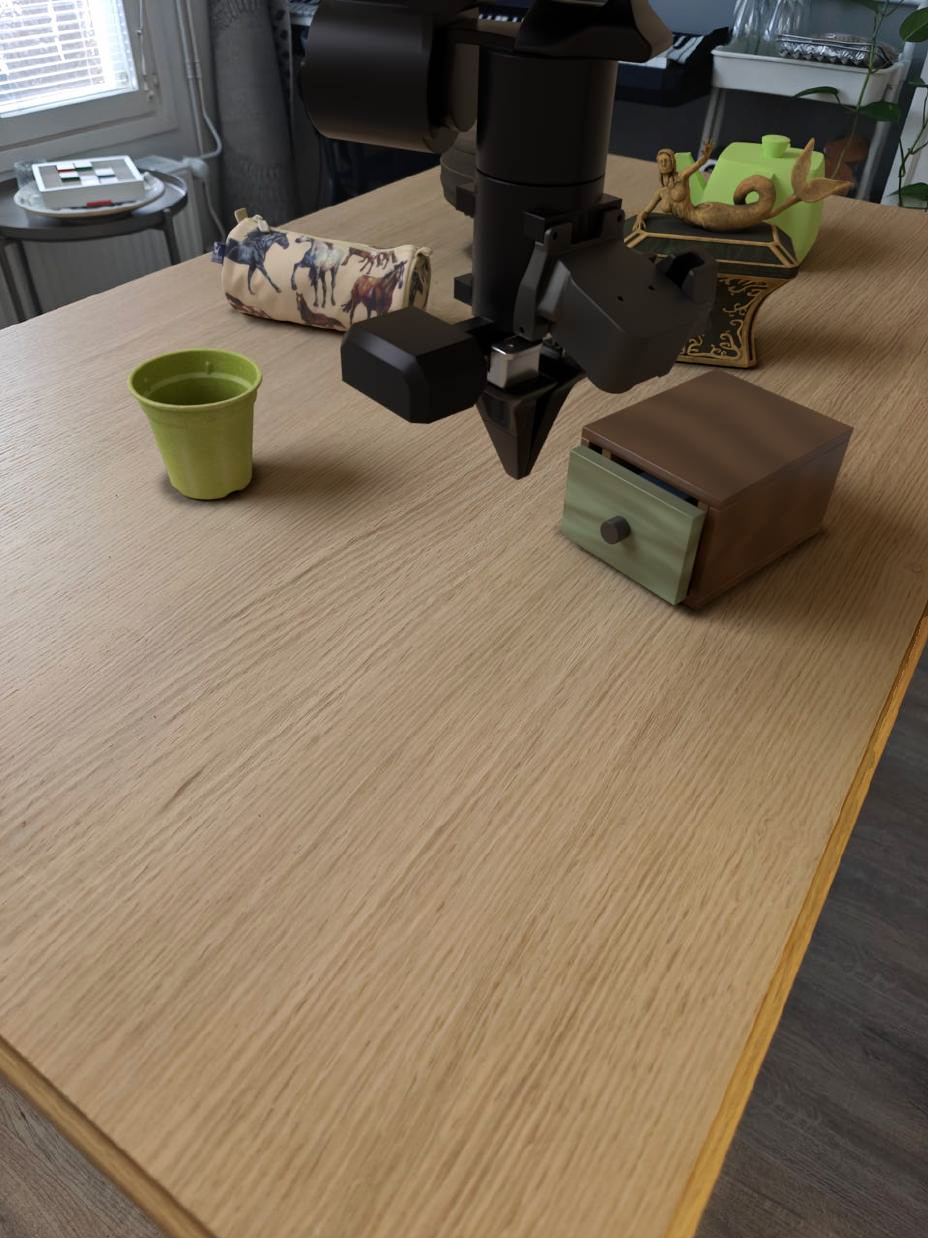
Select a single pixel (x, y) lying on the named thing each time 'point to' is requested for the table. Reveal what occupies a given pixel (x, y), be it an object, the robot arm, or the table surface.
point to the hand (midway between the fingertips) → (517, 475)
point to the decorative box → (728, 247)
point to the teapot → (769, 162)
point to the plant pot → (201, 416)
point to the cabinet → (732, 468)
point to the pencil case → (317, 276)
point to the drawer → (632, 522)
